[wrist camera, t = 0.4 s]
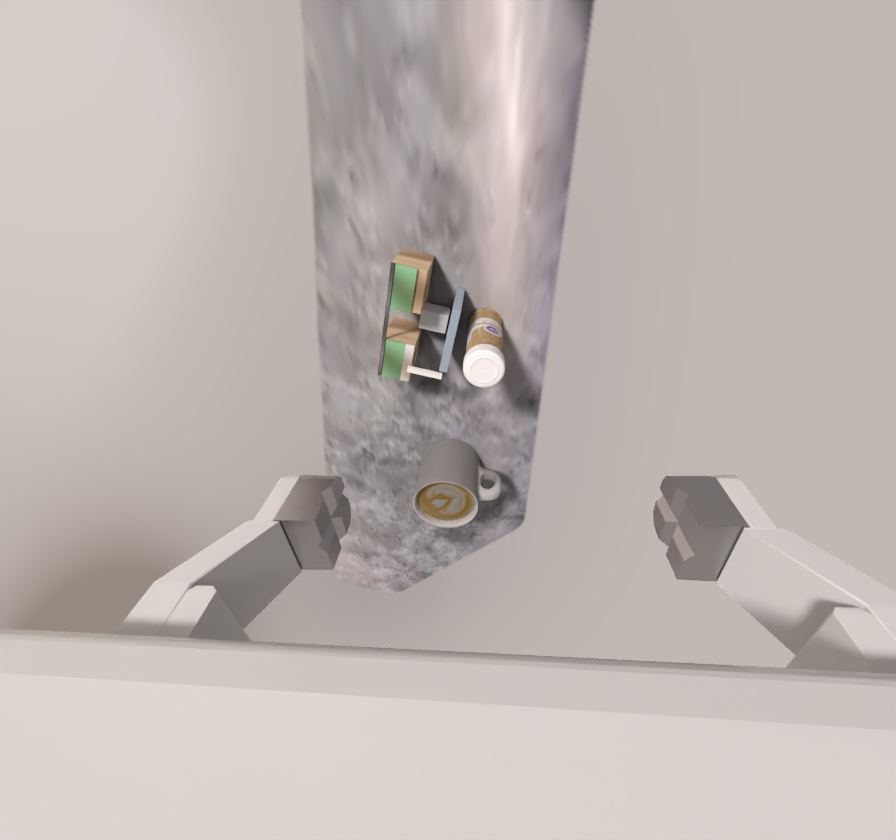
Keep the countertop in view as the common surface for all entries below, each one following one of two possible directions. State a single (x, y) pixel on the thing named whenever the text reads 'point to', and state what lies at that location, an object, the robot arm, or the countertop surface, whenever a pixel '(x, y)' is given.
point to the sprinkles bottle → (484, 349)
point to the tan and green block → (408, 296)
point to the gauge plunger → (440, 330)
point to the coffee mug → (452, 484)
